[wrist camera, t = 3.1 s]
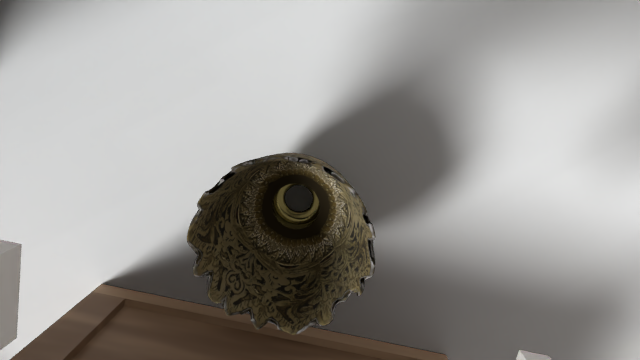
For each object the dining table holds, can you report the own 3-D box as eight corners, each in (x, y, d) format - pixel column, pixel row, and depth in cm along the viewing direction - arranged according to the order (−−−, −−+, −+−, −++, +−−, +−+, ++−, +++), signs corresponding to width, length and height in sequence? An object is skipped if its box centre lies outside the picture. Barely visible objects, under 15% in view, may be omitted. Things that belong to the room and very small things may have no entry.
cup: (292, 281, 25) (273, 368, 17) (209, 191, 24) (148, 240, 16) (388, 205, 24) (414, 262, 16) (305, 107, 23) (289, 116, 15)
